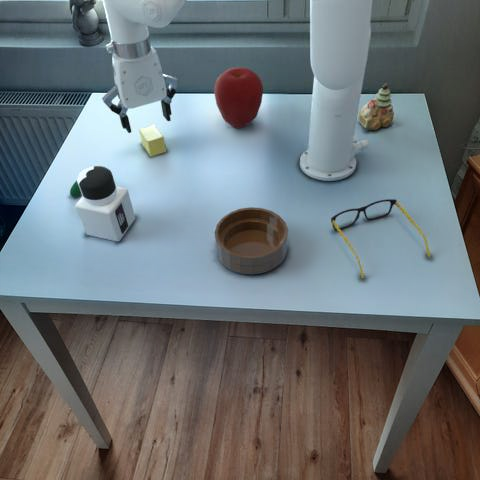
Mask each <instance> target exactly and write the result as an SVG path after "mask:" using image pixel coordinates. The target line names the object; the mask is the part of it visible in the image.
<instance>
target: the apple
mask: <svg viewBox="0 0 480 480" xmlns="http://www.w3.org/2000/svg"><path fill="white" fill-rule="evenodd" d="M213 93H214V99H215V103H216V106H217V108H218V111H219V113H220V115H221V117H222V119H223V121H224V122H226V123H227V124H228V125H230V126H231V127H233V128H237V129H239V128H243V127H247V125H249V124H250V123H252V122H253V121H254V120H255V119H256V118H257V117H258V114H259V110H260V108H261V106H262V103H263V102H262V101H263V93H264V86H263V83H262V81H261V78H260V77H259V75H258V74H257V73H255V72H254V71H253V70H251V69H250V68H248V67H241V66H240V67H231V68H228V69H226V70H225V71H224V72H222V74H220V75H219V77H217V79H216V81H215V85H214V90H213Z"/></svg>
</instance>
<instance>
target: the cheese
mask: <svg viewBox="0 0 480 480" xmlns="http://www.w3.org/2000/svg"><path fill="white" fill-rule="evenodd" d="M138 132H139V137H140V141H141V145H142V146H143V148H144V149H145V151H146V152H147V153H148V155H149V156H150V157H155V156H157V155H160V154H163V153H167V147H166V143H165V136H164V135H163V134H162V132H161V131H160V130H159V129H158V127H157V126H156V125H155V124H152V125H149V126H148V125H147V126H146V127H143V128H139V129H138Z"/></svg>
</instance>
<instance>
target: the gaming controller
mask: <svg viewBox="0 0 480 480" xmlns="http://www.w3.org/2000/svg"><path fill="white" fill-rule="evenodd" d="M82 171H83V170H82ZM82 171H80V173H81V172H82ZM69 195H70V196H71V197H72V198H77V197H79V196H80V195H82V193H81V191H80V188H79V185H78V183H77V179H76V180H75V181H74V182H73V184H72V185H71V187H70V190H69Z"/></svg>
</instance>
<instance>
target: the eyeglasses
mask: <svg viewBox="0 0 480 480" xmlns="http://www.w3.org/2000/svg"><path fill="white" fill-rule="evenodd" d="M385 202H386V203H387V202H389V203H390V205H389V209H388V211H387V212H386V213H384V214H382V215H378V216H375V217H370V218H369V217H368V216H367V211H366V210H367V209H368V208H369V207H371V206H374V205H377V204H380V203H385ZM394 205H395V206H396V207H397V209H399V210H400V212H402V213H403V215H404V216H405V217H406V218H407V219H408V221H409V222H410V223H411V224H412V225H413V226H414V227H415V228H416V230H417V231H418V232H419V233H420V235H421V237H422V238H423V241H424V243H425V249H426V254H427V257H428V258H431V252H430V247H429V243H428V241H427V238H426V236H425V234H424V232H423V231H422V230H421V229H420V227H419V226H418V225H417V223H416V222H415V221H414V219H413V218H411V216H410V215H409V213H408V212H407V211H406V210H405V208H404V207H403V206H402V205H401V204H400V203H399V201H398V200H397V199H396V198H392V199H391V198H389V199H381V200H376V201H373V202H371V203H369V204H367V205H365V206H361V207H358V208H349V209H346V210H342V211H340V212H338V213H337V214H335V215H334V216H332V217H331V218H330V222H331V226H332V228H333V230H334V231H337V232H338V233H339V234H340V236H341V237H342V238H343V241H345V243H346V244H347V246H349V248H350V250H351V251H352V252H353V254H354V255H355V258H356V260H357V263H358V266H359V271H360V275H361V278H362V279H364V278H365V275H364V271H363V267H362V264H361V261H360V258H359V255H358V254H357V252H356V251H355V249H354V247H353V246H352V244H351V243H350V242H349V239H347V237H346V236H345V235H344V233H343V232H342V230H344V229H346V228H349V227H351V226H353V225H354V224H355V223H356V222H357V221H358V220H359V219H360V215H361V212H363V215H364V217H365V219H366V220H368V221H373V220H377V219H381V218H385V217H387V216H389V215H390V213H391V212H392V209H393V206H394ZM354 211H355V212H357V213H356V216H355V218H354V220H353V221H352V222H351V223H350V224H348V225H345V226H341V227H339V226H338V224H337V222H336V219H337V218H338V217H339V216H341V215H343V214H345V213H349V212H354Z"/></svg>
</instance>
